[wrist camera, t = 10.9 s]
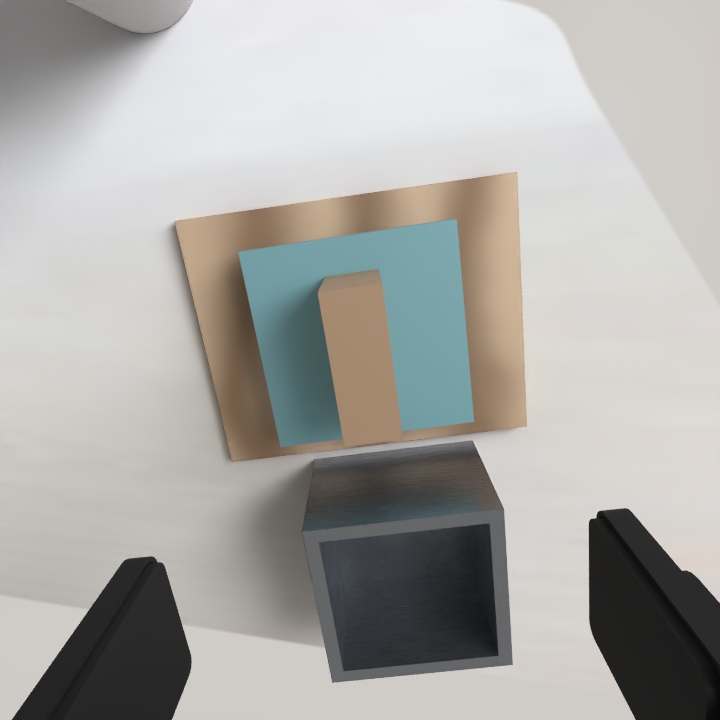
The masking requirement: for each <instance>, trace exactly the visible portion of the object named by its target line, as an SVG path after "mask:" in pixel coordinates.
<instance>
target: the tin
mask: <svg viewBox="0 0 720 720" xmlns="http://www.w3.org/2000/svg"><path fill="white" fill-rule="evenodd" d="M302 534H303V539H304V544H305V549H306V554H307V559H308V564H309V569H310V574H311V579H312V584H313V589H314V594H315V599H316V604H317V609H318V614H319V619H320V624H321V629H322V634H323V638H324V643H325V648H326V653H327V658H328V663H329V668H330V673H331V678H332V682H343V681H353V680H363V679H374V678H384V677H394V676H403V675H414V674H424V673H434V672H444V671H454V670H465V669H475V668H485V667H495V666H505V665H513V662H512V644H511V627H510V609H509V591H508V574H507V556H506V538H505V520H504V508H503V506H502V504H501V502H500V499H499V497H498V495H497V493H496V491H495V489H494V486H493V484H492V482H491V480H490V478H489V475H488V473H487V471H486V469H485V467H484V464H483V462H482V460H481V458H480V456H479V454H478V451H477V449H476V447H475V445H474V443H473V441H466V442H457V443H449V444H441V445H432V446H424V447H416V448H407V449H399V450H391V451H382V452H374V453H365V454H357V455H349V456H340V457H332V458H324V459H315V463H314V468H313V474H312V479H311V485H310V490H309V496H308V501H307V507H306V512H305V518H304V523H303V529H302Z"/></svg>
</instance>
